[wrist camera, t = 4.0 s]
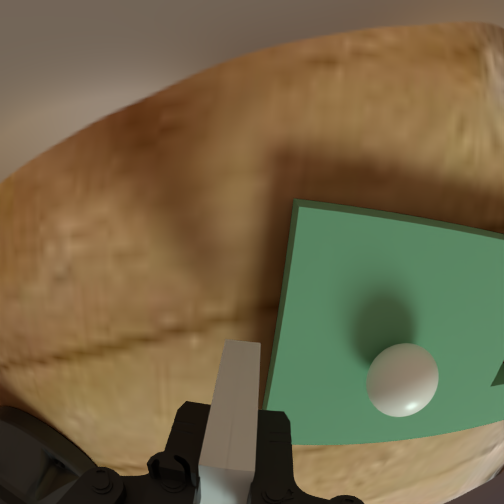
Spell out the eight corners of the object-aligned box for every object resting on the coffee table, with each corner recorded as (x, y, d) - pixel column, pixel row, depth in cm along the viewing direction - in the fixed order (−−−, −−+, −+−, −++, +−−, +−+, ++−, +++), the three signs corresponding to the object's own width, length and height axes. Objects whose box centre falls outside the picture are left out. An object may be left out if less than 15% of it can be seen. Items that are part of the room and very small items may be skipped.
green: (260, 415, 19) (259, 442, 17) (293, 198, 15) (299, 206, 13) (516, 396, 19) (528, 411, 16) (575, 252, 15) (594, 262, 12)
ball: (350, 385, 15) (365, 434, 12) (369, 328, 14) (393, 374, 11) (408, 384, 15) (431, 428, 12) (430, 329, 14) (462, 370, 11)
